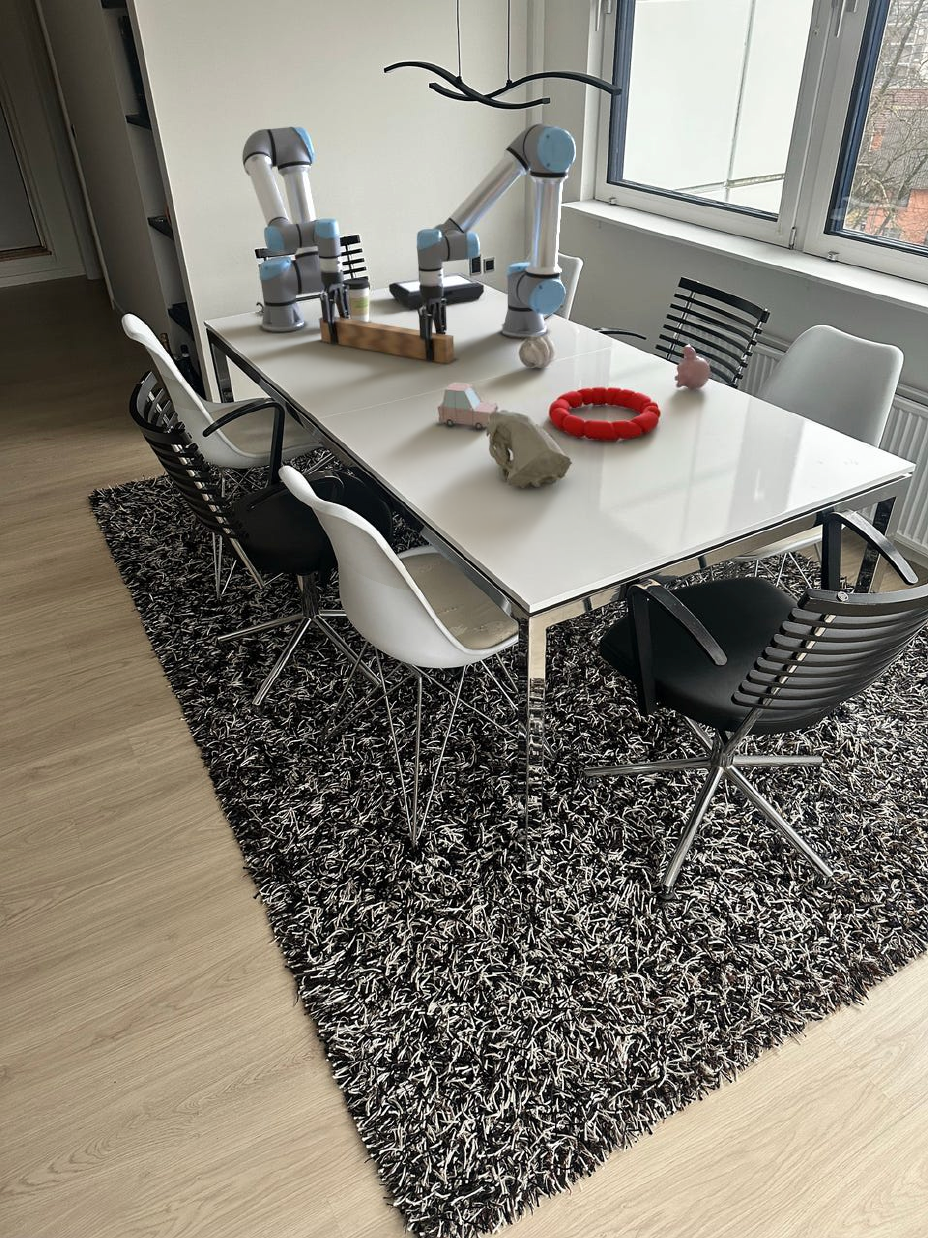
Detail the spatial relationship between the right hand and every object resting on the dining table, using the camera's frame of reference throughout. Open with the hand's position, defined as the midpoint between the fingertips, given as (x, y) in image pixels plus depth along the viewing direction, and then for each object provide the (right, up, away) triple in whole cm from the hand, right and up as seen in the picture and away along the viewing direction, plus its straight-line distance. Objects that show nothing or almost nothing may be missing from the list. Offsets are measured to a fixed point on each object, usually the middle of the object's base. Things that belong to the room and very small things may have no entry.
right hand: (434, 356), depth 291 cm
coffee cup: (-29, +23, +36) cm, 51 cm away
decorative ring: (+48, -32, -48) cm, 75 cm away
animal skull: (+24, -49, -71) cm, 90 cm away
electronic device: (-1, +40, +59) cm, 72 cm away
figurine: (+76, -18, -29) cm, 84 cm away
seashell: (+33, -6, -10) cm, 35 cm away
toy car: (+11, -32, -46) cm, 57 cm away
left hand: (-34, +11, +18) cm, 40 cm away
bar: (-17, +5, +9) cm, 20 cm away
